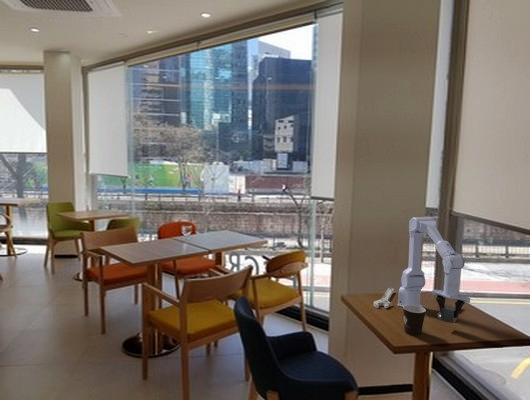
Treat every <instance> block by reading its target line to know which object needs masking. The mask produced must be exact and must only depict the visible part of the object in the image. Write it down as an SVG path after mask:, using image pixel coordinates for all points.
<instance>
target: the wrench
mask: <svg viewBox="0 0 530 400" xmlns="http://www.w3.org/2000/svg"><path fill="white" fill-rule="evenodd" d="M394 289H395V288H393V287H388V288H387V289H386V291H385V293H384V294H383V296H382V297H381V298H380V299H378V300H374V301H373V304H372V305H373V307H374V308H376V309H379V308H380V307H384V308H385V309H388V308H389V307H393V303H392V302H390V299H391V297H392V296H393V293H395V292H394V291H395V290H394Z"/></svg>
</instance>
